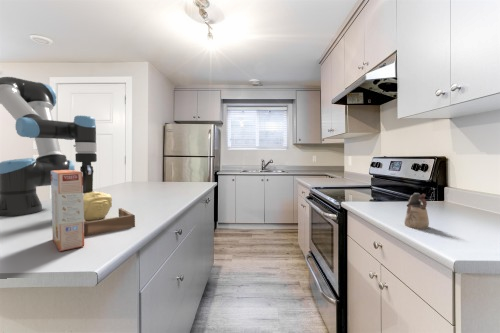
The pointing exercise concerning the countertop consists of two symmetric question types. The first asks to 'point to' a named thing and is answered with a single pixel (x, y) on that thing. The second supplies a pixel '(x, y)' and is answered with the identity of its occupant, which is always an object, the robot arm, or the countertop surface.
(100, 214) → the sculpture
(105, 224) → the frame
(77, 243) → the cracker box
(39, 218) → the countertop surface
